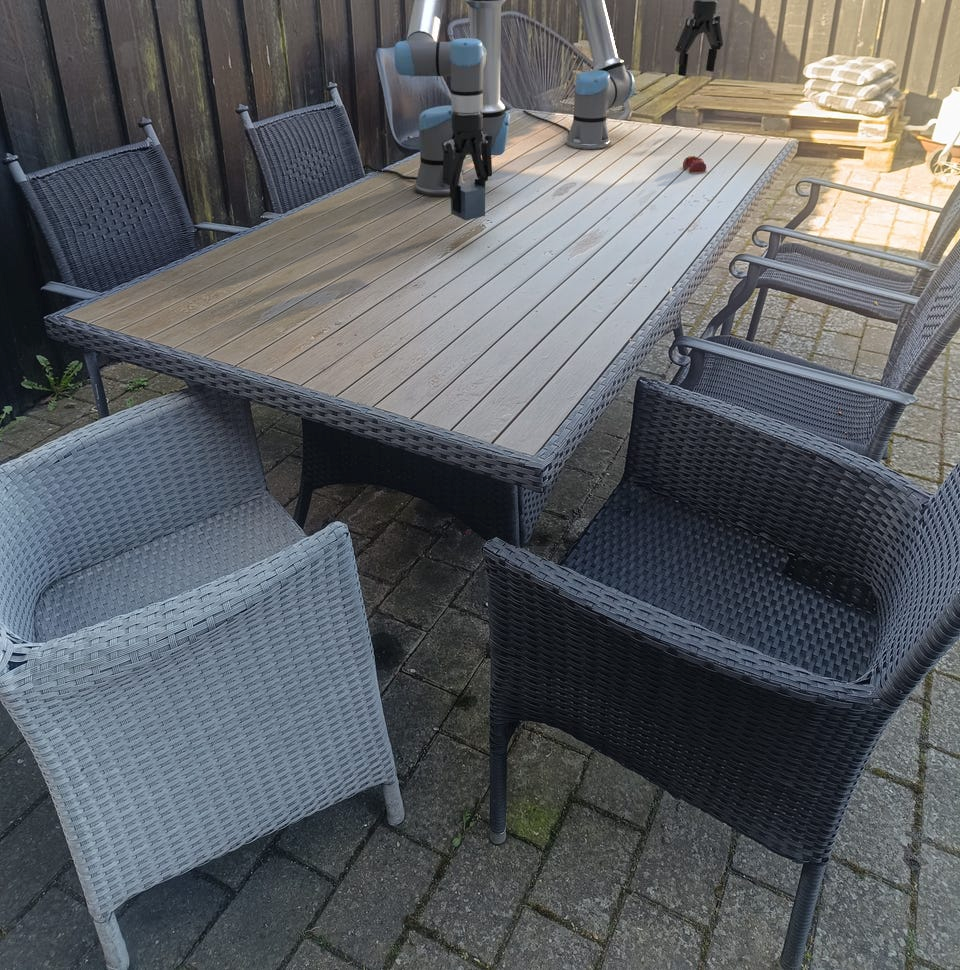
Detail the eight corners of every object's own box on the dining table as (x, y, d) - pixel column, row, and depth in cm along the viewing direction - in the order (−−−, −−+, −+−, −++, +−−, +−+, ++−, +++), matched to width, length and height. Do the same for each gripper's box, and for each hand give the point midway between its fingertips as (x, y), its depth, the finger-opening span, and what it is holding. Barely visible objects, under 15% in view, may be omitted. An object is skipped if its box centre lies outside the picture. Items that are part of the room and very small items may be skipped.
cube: (485, 215, 215) (485, 187, 211) (465, 220, 212) (465, 192, 208) (470, 209, 219) (470, 181, 215) (450, 213, 217) (450, 185, 212)
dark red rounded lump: (697, 152, 277) (708, 159, 271) (696, 165, 280) (707, 172, 273) (682, 154, 276) (692, 161, 270) (680, 167, 279) (691, 174, 272)
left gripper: (489, 103, 208) (489, 197, 222) (424, 114, 199) (428, 211, 213) (508, 109, 203) (506, 205, 217) (442, 120, 194) (445, 220, 208)
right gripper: (722, -4, 276) (712, 67, 288) (669, 1, 264) (661, 75, 276) (740, -2, 271) (729, 70, 284) (687, 3, 259) (678, 79, 272)
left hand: (468, 208), depth 215 cm, fingers closed on cube, 6 cm apart
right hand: (695, 73), depth 280 cm, fingers open, 13 cm apart
